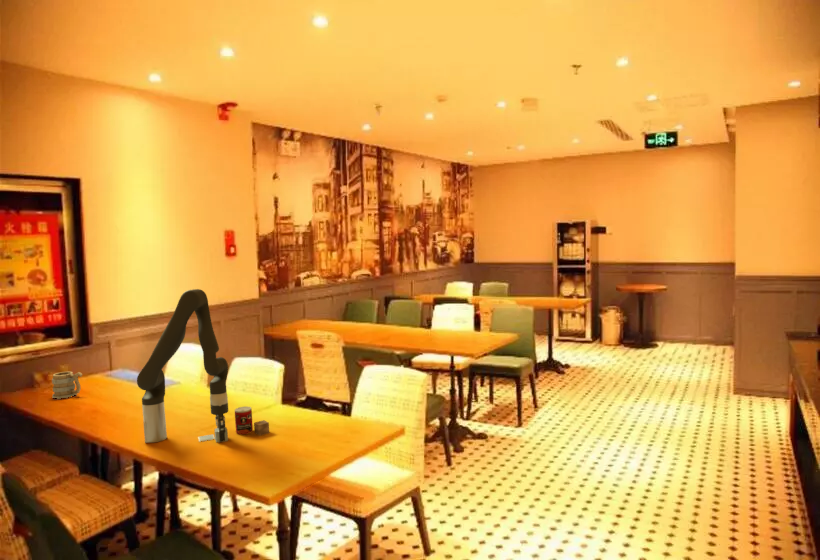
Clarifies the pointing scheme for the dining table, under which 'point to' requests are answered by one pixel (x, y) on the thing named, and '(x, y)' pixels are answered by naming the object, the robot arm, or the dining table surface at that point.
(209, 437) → the swatch
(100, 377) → the dining table surface
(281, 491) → the dining table surface
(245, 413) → the canned food
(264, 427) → the walnut block
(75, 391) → the tankard
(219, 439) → the light grey cube
